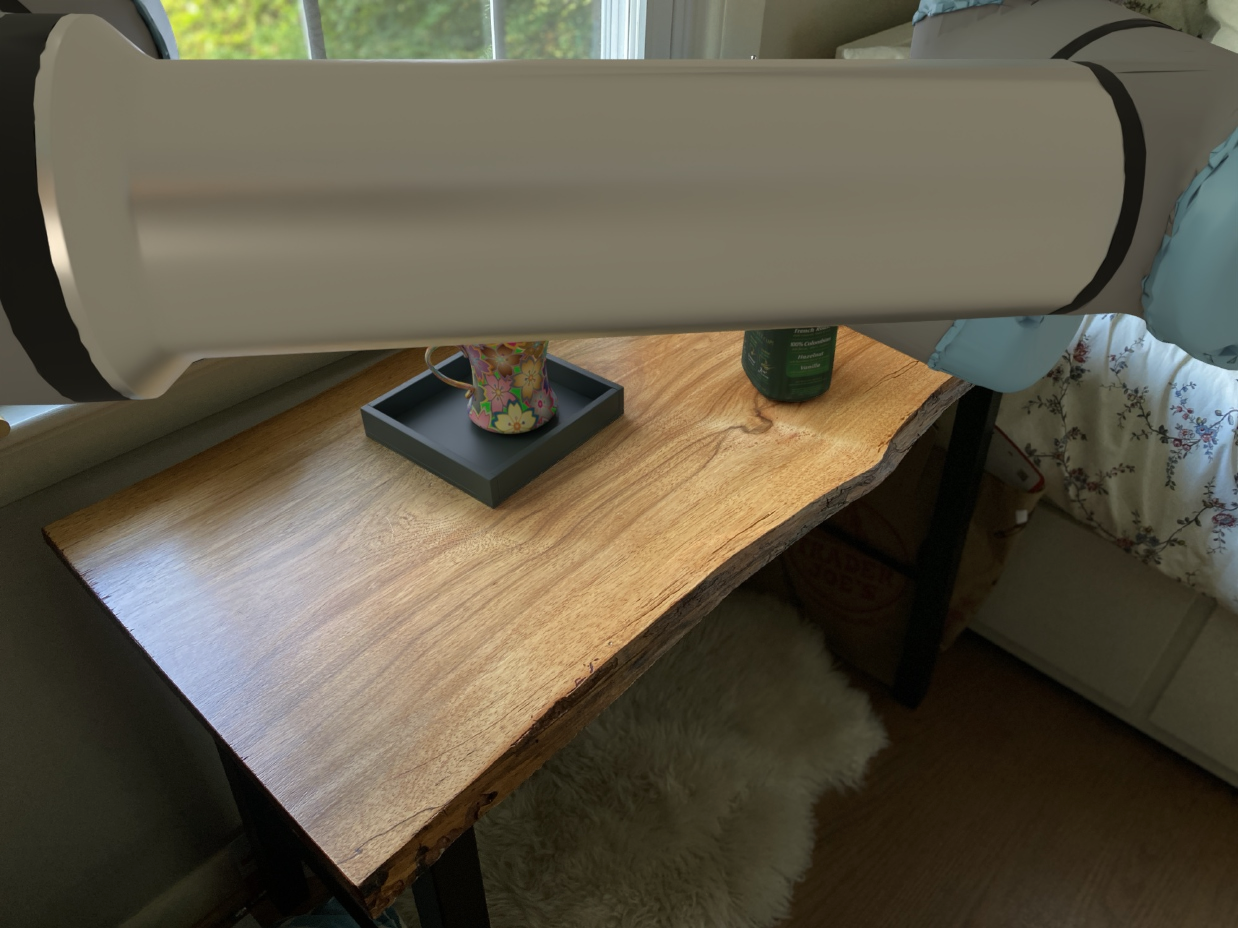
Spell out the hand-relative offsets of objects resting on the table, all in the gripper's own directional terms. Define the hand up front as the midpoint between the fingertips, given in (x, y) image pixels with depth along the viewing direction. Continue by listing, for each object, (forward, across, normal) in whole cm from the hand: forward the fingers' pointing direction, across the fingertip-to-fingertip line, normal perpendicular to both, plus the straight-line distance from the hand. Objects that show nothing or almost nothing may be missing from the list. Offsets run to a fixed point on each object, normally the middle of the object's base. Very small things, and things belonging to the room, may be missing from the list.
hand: (545, 128), depth 63 cm
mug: (+10, 0, -30) cm, 31 cm away
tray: (+10, 0, -30) cm, 32 cm away
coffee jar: (-4, +26, -30) cm, 40 cm away
